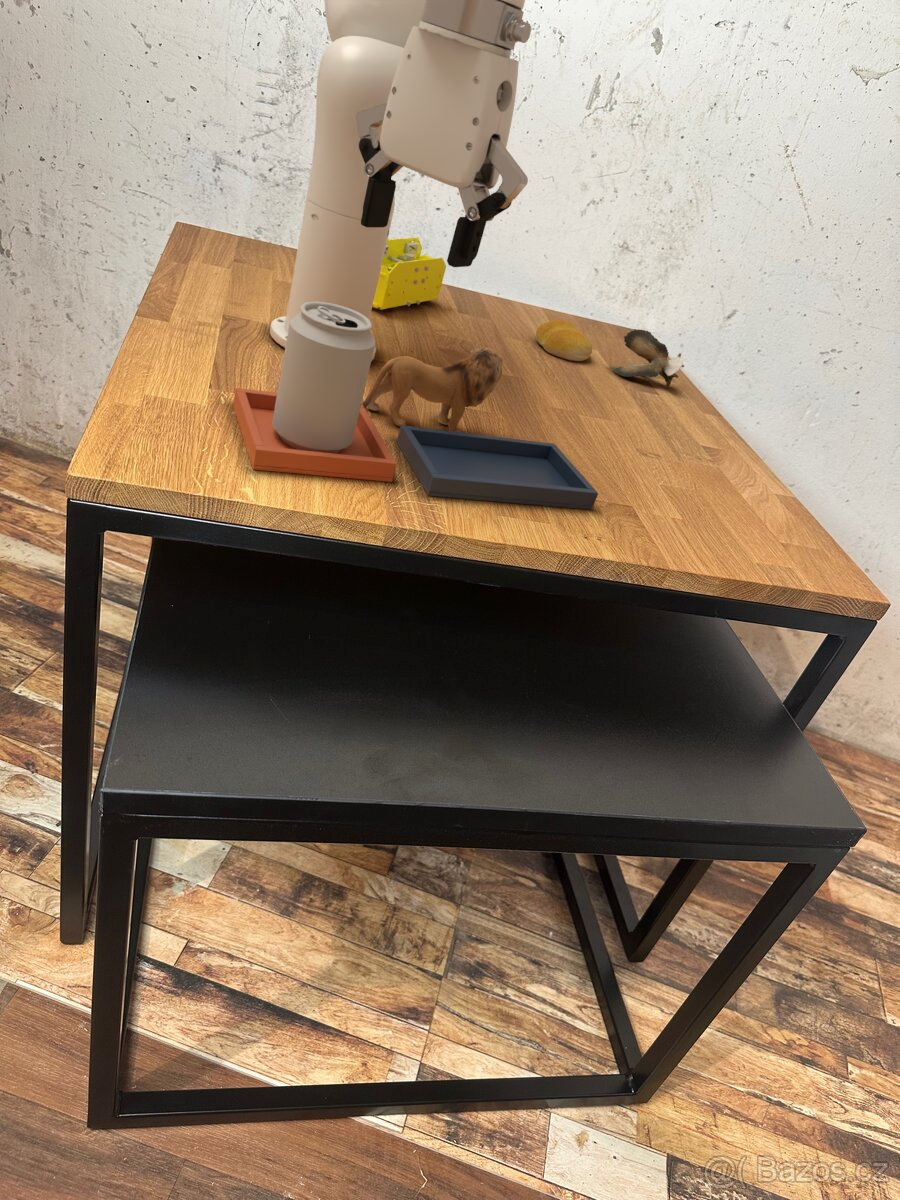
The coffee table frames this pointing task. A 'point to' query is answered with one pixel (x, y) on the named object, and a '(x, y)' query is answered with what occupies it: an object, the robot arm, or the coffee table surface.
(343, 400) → the can
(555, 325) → the bread roll
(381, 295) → the yellow toy chassis
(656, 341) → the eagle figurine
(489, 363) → the lion figurine
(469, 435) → the slate tray
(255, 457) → the terracotta tray
